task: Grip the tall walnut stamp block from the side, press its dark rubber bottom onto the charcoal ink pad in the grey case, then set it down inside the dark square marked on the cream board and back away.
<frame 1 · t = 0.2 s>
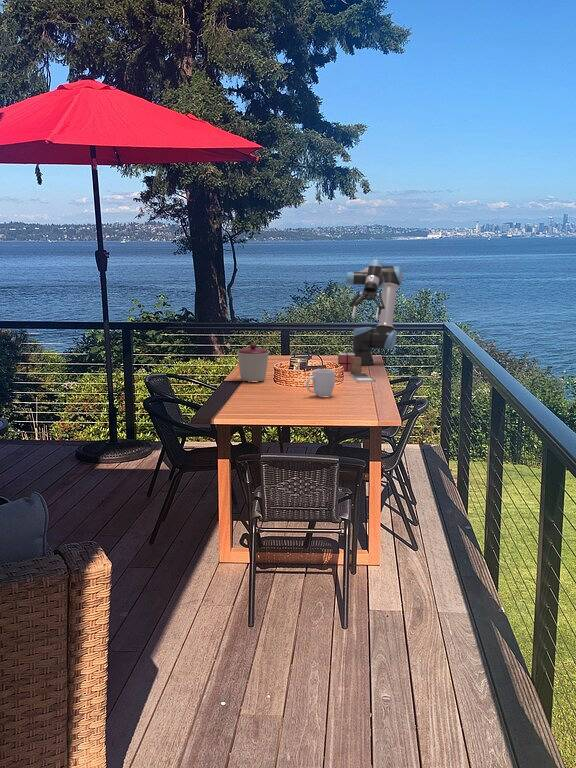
hand: (364, 318, 450), 34 cm above the table, tool tilted 30°, fingers open, 13 cm apart
canister: (253, 381, 442), on the table
ink pad: (359, 377, 457), on the table
mug: (321, 396, 401), on the table
print board: (364, 380, 447), on the table
puzzle cube: (346, 370, 480), on the table
stamp: (355, 374, 466), on the table
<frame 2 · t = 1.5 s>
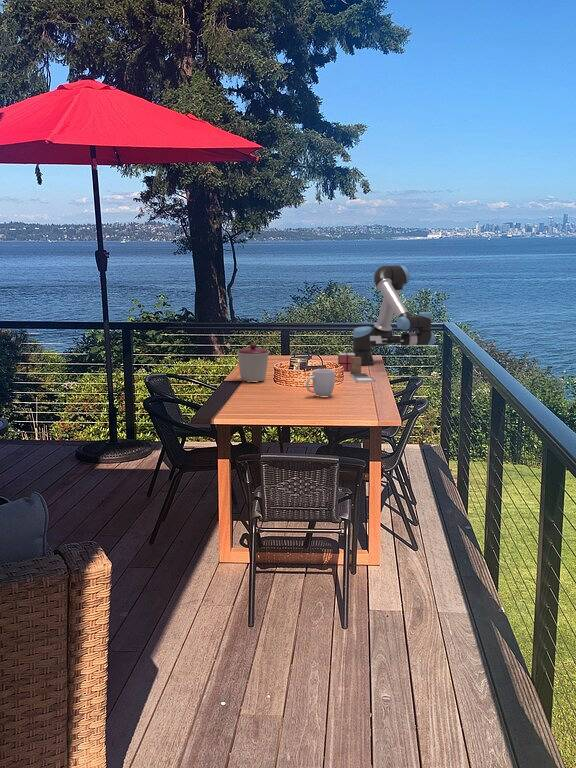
hand: (372, 339, 464), 20 cm above the table, tool horizontal, fingers open, 13 cm apart
nothing on the table moved.
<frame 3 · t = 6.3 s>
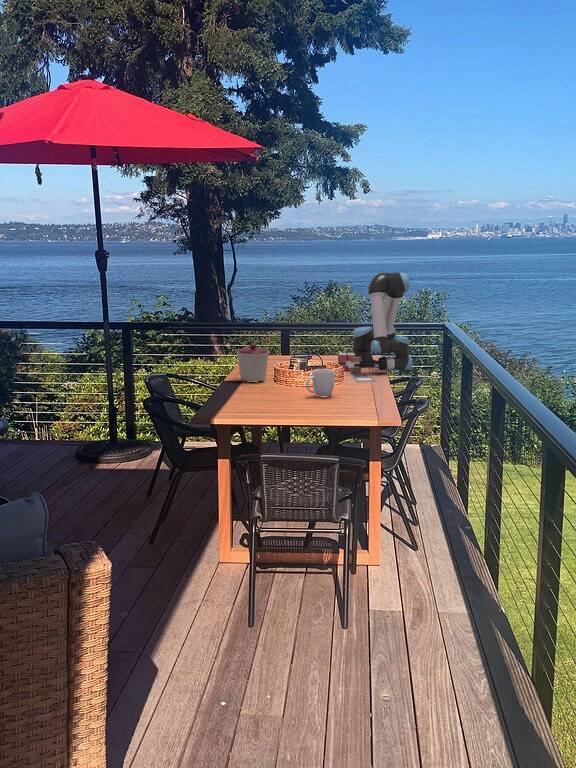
hand: (347, 364, 464), 6 cm above the table, tool horizontal, fingers closed on stamp, 5 cm apart
stamp: (355, 374, 466), on the table, touching gripper
everything else where it was.
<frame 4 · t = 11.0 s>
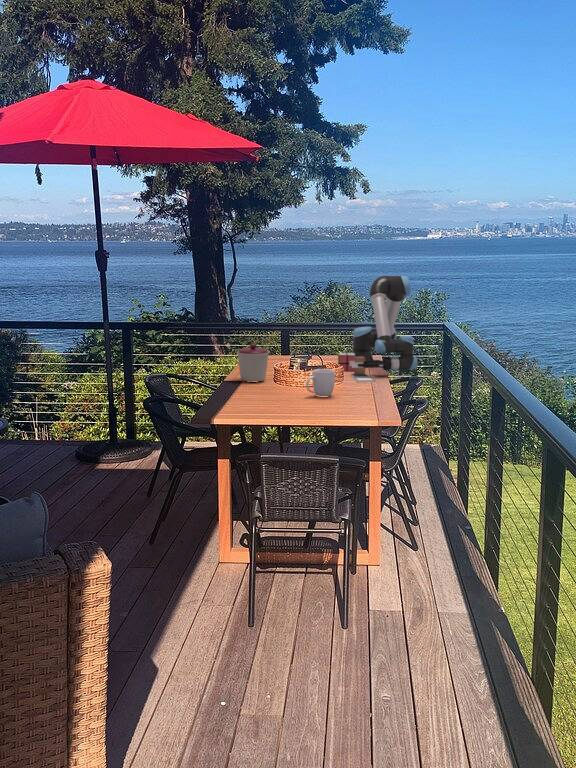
hand: (350, 364, 455), 7 cm above the table, tool horizontal, fingers closed on stamp, 5 cm apart
stamp: (359, 374, 457), point 1 cm above the table, touching gripper, ink pad
everything else where it was.
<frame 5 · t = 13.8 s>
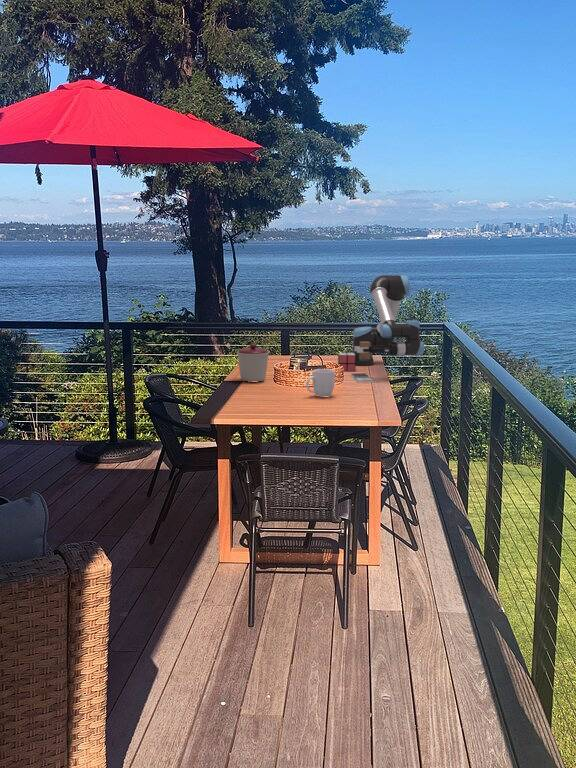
hand: (355, 349, 443), 17 cm above the table, tool horizontal, fingers closed on stamp, 5 cm apart
stamp: (364, 360, 444), point 11 cm above the table, touching gripper
everything else where it was.
when the fingers open (8 cm above the table, at t = 16.1 s): stamp drops 1 cm, resting on print board.
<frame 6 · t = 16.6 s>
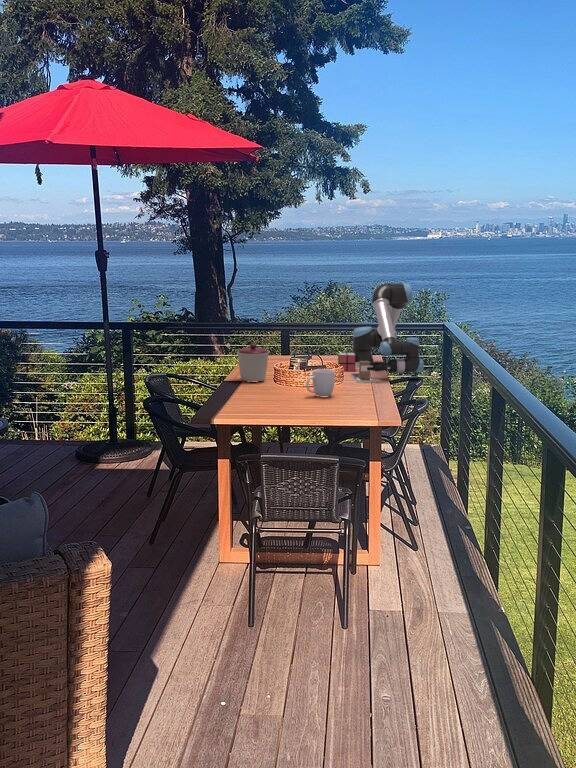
hand: (358, 366, 445), 8 cm above the table, tool horizontal, fingers open, 12 cm apart
stamp: (364, 379, 446), point 1 cm above the table, touching print board
everything else where it was.
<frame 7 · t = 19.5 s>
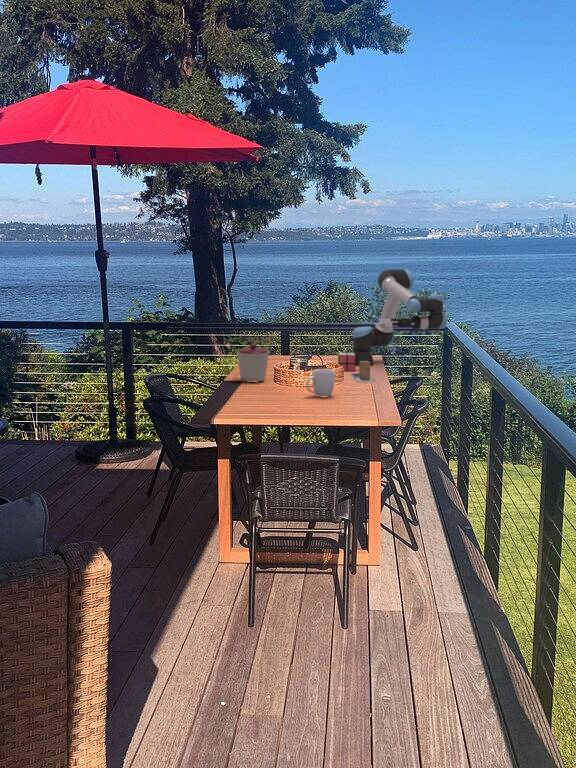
hand: (382, 322, 449), 32 cm above the table, tool horizontal, fingers open, 13 cm apart
nothing on the table moved.
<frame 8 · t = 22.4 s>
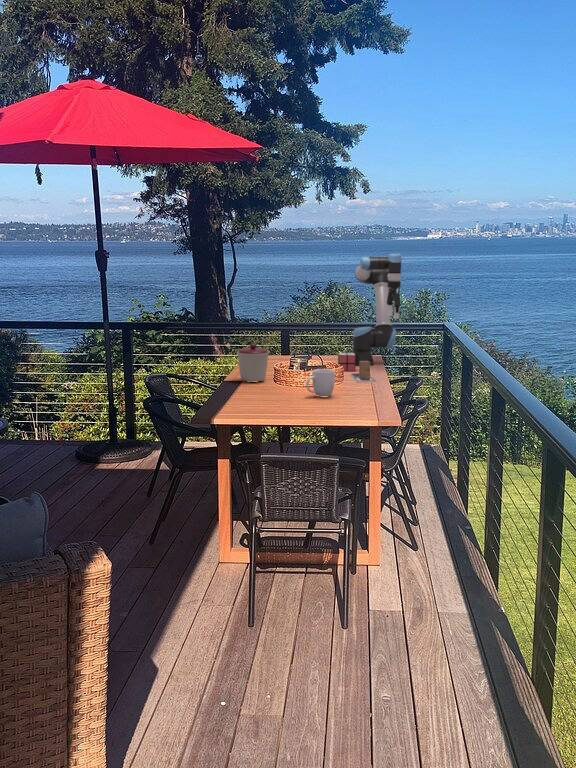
hand: (393, 317, 469), 33 cm above the table, tool pointing down, fingers open, 13 cm apart
nothing on the table moved.
at the end: stamp 0.0 cm off-centre on the print board, point 0.6 cm above the print board's base; stamp tilted 0°; the gripper is holding nothing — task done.
